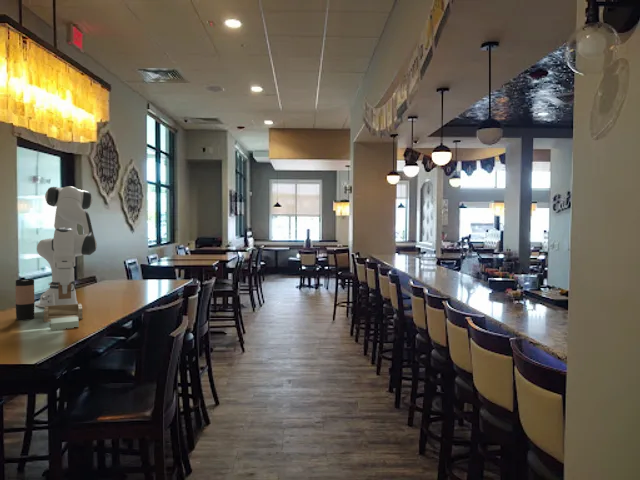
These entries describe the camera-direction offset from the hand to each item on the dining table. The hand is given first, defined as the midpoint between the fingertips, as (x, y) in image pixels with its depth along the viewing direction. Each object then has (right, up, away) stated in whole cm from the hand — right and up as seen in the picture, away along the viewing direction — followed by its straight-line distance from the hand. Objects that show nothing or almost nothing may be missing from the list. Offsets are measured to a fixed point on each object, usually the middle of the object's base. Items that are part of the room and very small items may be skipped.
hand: (64, 292), depth 203 cm
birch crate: (-9, -15, +15) cm, 23 cm away
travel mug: (-25, -15, +11) cm, 31 cm away
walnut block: (0, -3, 0) cm, 3 cm away
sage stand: (0, -16, +1) cm, 16 cm away
